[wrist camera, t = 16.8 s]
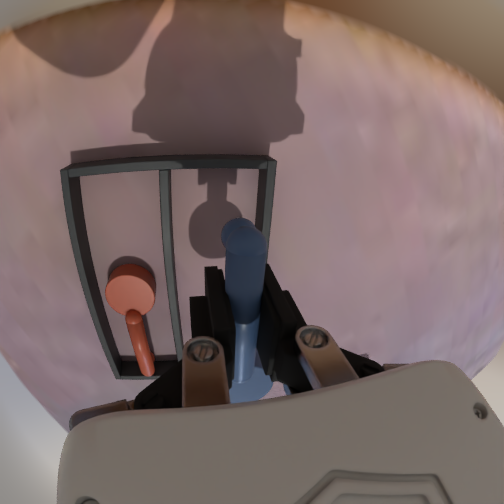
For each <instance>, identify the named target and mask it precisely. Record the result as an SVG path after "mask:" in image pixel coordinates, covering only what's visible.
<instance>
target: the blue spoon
mask: <svg viewBox="0 0 504 504" xmlns="http://www.w3.org/2000/svg"><path fill="white" fill-rule="evenodd" d="M221 238H222V242H223V245H224V246H225V248H226V262H225V291H226V293H227V294H228V296H229V301H230V305H231V309H232V313H233V317H234V321H235V326H236V345H235V370H234V380H232V388H231V389H230V390H229V394H230V401H231V404H233V403H241V402H249V401H256V400H259V399H260V398H262V397H263V396H265V395H266V394H267V393H268V392H269V391H270V389H271V388H272V385H273V382H271V379H270V376H269V375H267V376H266V375H265V373H264V370H263V367H262V364H261V361H260V357H259V354H258V351H257V348H256V346H257V338H258V329H259V319H260V310H261V301H262V292H263V284H264V274H265V264H266V255H267V242H266V239H265V237H264V235H263V234H262V232H261V231H259V230H258V229H256V227H255V225H254V224H253V223H252V222H251V221H249V220H247V219H245V218H235V219H232V220H230V221H229V222H227V223H226V224H225V226H224V228H223V230H222V234H221Z"/></svg>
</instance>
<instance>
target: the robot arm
mask: <svg viewBox="0 0 504 504" xmlns="http://www.w3.org/2000/svg"><path fill="white" fill-rule="evenodd" d="M189 298H190V316H191V331H192V339H190V340H189V341H187V342H186V343H185V345H184V346H183V350H182V359H181V360H180V361H179V362H177V363H176V364H175V365H174V366H173V367H171V368H170V369H169V370H168V371H166V372H165V373H164V374H163V375H161V376H160V377H159V378H158V379H156V380H155V381H154V382H153V383H151V384H150V385H149V386H148V387H146V388H145V389H144V390H143V391H141V392H140V393H139V394H138V395H137V396H136V398H135V400H131V401H126V399H124V400H120V401H116V402H113V403H108V404H104V405H100V406H96V407H91V408H87V409H82V410H79V411H77V412H75V413H74V414H73V415H72V416H71V418H70V421H69V428H70V432H69V434H68V436H67V438H66V440H65V443H64V446H63V449H62V453H61V458H60V465H59V472H58V483H57V484H58V485H57V504H504V427H503V425H502V423H501V422H500V420H499V419H498V417H497V416H496V414H495V413H494V411H493V410H492V408H491V407H490V405H489V404H488V403H487V401H486V399H485V398H484V397H483V395H482V394H481V393H480V391H479V390H478V389H477V387H476V386H475V385H474V384H473V382H472V381H471V380H470V379H469V378H468V377H467V375H466V374H465V373H464V372H463V371H462V370H461V369H460V368H458V367H457V366H456V365H455V364H453V363H451V362H447V361H441V360H429V361H420V362H416V363H411V364H383V366H381V365H380V364H378V363H377V362H375V361H373V360H370V359H367V358H365V357H362V356H360V355H357V354H354V353H352V352H349V351H347V350H344V349H342V348H339V346H338V345H337V343H336V342H335V340H334V339H333V337H332V336H331V335H330V333H329V332H328V331H327V330H325V329H324V328H322V327H319V326H314V325H307V324H306V322H305V321H304V319H303V317H302V315H301V313H300V311H299V309H298V308H297V306H296V304H295V302H294V300H293V298H292V296H291V295H290V293H289V291H287V290H284V291H282V289H281V287H280V285H279V283H278V282H277V280H276V278H275V276H274V274H273V272H272V270H271V268H270V266H269V264H265V274H264V284H263V292H262V301H261V310H260V319H259V329H258V338H257V346H256V348H257V351H258V354H259V357H260V361H261V364H262V367H263V370H264V373H265V375H266V376H267V375H269V376H270V379H271V382H275V381H279V382H281V383H283V384H284V385H283V386H284V390H285V393H286V395H287V396H281V397H275V398H269V399H263V400H256V401H249V402H241V403H233V404H231V401H230V394H229V390H230V389H231V388H232V380H234V370H235V345H236V326H235V321H234V317H233V313H232V309H231V305H230V301H229V296H228V294H227V293H226V291H225V280H224V275H223V271H222V269H218V268H217V266H211V267H205V296H195V297H189Z"/></svg>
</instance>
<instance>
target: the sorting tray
mask: <svg viewBox="0 0 504 504" xmlns="http://www.w3.org/2000/svg"><path fill="white" fill-rule="evenodd" d="M276 165H277V161H276V160H275V159H273V158H271V157H269V156H266V155H261V156H260V155H233V154H195V155H163V156H145V157H131V158H119V159H108V160H98V161H90V162H82V163H74V164H70V165H69V166H67V167H65V168H63V169H61V170H60V173H61V183H62V191H63V198H64V205H65V212H66V218H67V223H68V229H69V234H70V239H71V244H72V248H73V253H74V257H75V261H76V265H77V269H78V273H79V277H80V281H81V284H82V288H83V291H84V295H85V298H86V301H87V304H88V308H89V311H90V314H91V317H92V320H93V323H94V325H95V328H96V331H97V334H98V337H99V339H100V342H101V345H102V347H103V350H104V352H105V355H106V357H107V360H108V362H109V364H110V367H111V369H112V371H113V374H114V376H115V378H116V379H132V380H144V379H158V378H159V377H160V376H161V375H163V374H164V373H165V372H166V371H168V370H169V369H170V368H171V367H173V366H174V365H175V364H176V363H177V362H179V361H180V360H181V359H182V350H183V339H182V331H181V323H180V314H179V305H178V295H177V285H176V274H175V261H174V247H173V230H172V208H171V169H201V168H244V169H259V180H258V193H257V206H256V219H255V227H256V229H258V230H259V231H261V232H262V234H263V235H264V237H265V239H266V242H267V255H266V264H267V257H268V247H269V237H270V228H271V218H272V207H273V197H274V186H275V176H276ZM147 170H159V186H160V209H161V226H162V240H163V252H164V263H165V273H166V282H167V291H168V299H169V307H170V314H171V321H172V328H173V335H174V341H175V347H176V353H177V359H178V360H168V361H154V362H153V364H154V368H155V372H154V374H153V375H152V376H149V377H147V376H144V375H143V374H142V373H141V370H140V367H139V364H138V361H122V360H121V358H120V355H119V352H118V349H117V347H116V344H115V341H114V338H113V335H112V332H111V329H110V326H109V322H108V319H107V316H106V313H105V309H104V306H103V302H102V298H101V295H100V291H99V287H98V283H97V279H96V275H95V271H94V266H93V262H92V257H91V252H90V247H89V242H88V237H87V231H86V225H85V219H84V212H83V205H82V198H81V189H80V180H79V176H88V175H97V174H107V173H119V172H132V171H147Z"/></svg>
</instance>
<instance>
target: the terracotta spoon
mask: <svg viewBox="0 0 504 504" xmlns="http://www.w3.org/2000/svg"><path fill="white" fill-rule="evenodd" d="M155 293H156V283H155V280H154V278H153V276H152V275H151V273H150V272H149V271H148V270H146V269H145V268H143V267H141V266H139V265H135V264H124V265H121V266H119V267H117V268H116V269H114V270H113V272H112V273H111V275H110V277H109V280H108V283H107V286H106V289H105V295H106V299H107V302H108V303H109V305H110V306H111V307H112V308H113V309H114V310H115V311H116V312H118V313H120V314H122V315H125V320H126V324H127V328H128V331H129V335H130V338H131V342H132V345H133V348H134V352H135V355H136V358H137V361H138V364H139V367H140V370H141V373H142V374H143V375H144V376H147V377H149V376H152V375H153V374H154V372H155V368H154V364H153V362H154V360H155V357H154V354H153V353H152V352H150V349H149V345H148V341H147V337H146V333H145V328H144V324H143V319H142V316H141V315H144V314H146V313H147V312H149V311H150V310H151V308H152V307H153V305H154V302H155Z"/></svg>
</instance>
